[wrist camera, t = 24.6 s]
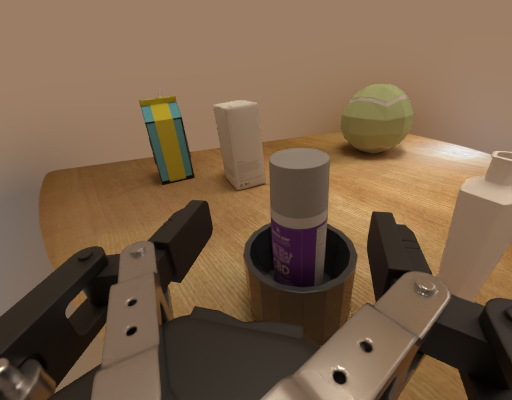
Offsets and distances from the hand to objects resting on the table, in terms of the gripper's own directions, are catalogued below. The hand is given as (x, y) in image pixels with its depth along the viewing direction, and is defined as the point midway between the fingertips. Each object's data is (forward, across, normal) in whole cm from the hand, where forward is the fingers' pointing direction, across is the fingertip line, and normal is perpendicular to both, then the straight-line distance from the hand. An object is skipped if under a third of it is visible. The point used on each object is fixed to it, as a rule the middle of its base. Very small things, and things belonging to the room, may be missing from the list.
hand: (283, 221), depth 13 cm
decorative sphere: (+56, -13, +16) cm, 60 cm away
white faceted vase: (+11, -14, +16) cm, 24 cm away
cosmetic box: (+36, +15, +16) cm, 42 cm away
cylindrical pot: (+8, 0, +15) cm, 17 cm away
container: (+8, 0, +15) cm, 17 cm away
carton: (+38, +32, +16) cm, 52 cm away
